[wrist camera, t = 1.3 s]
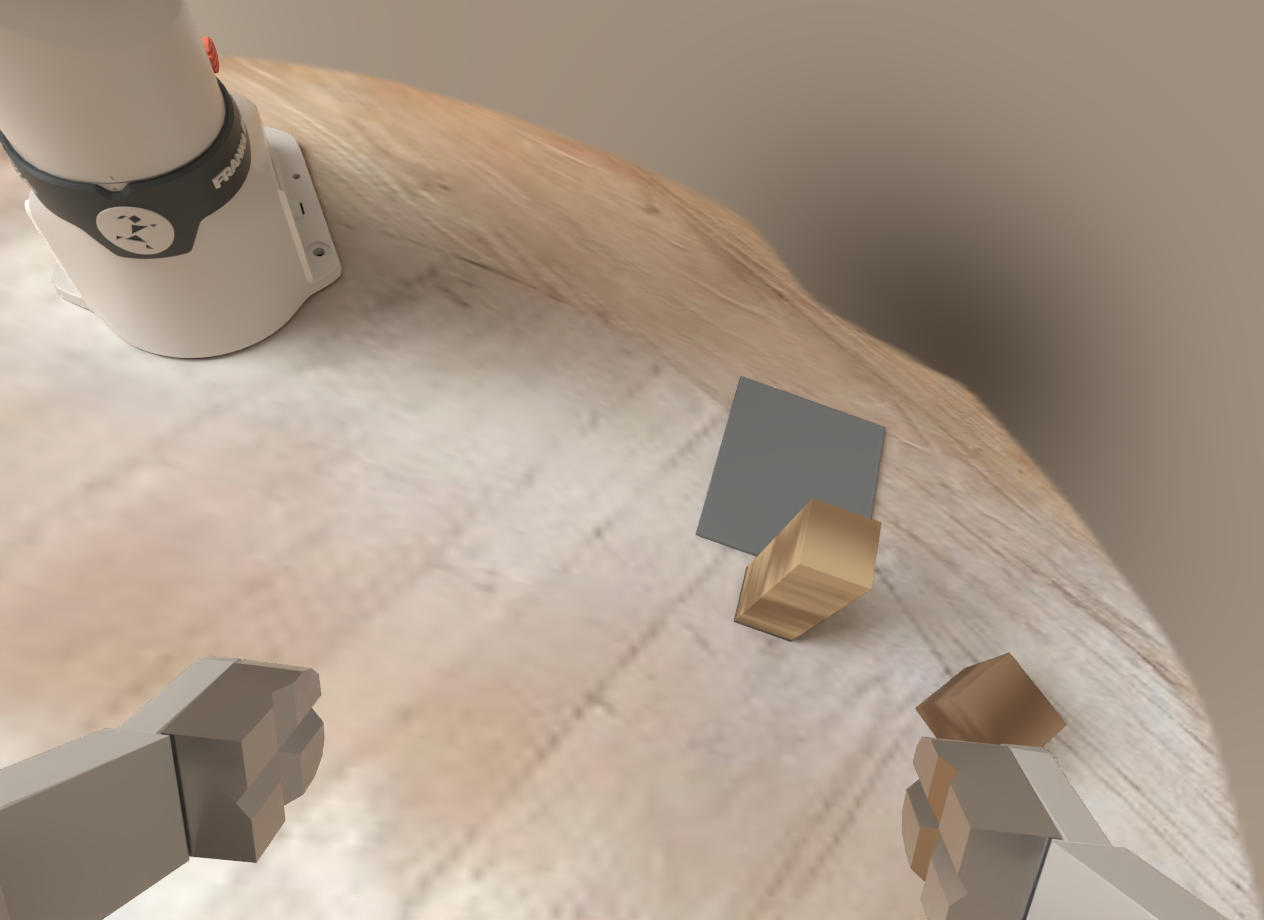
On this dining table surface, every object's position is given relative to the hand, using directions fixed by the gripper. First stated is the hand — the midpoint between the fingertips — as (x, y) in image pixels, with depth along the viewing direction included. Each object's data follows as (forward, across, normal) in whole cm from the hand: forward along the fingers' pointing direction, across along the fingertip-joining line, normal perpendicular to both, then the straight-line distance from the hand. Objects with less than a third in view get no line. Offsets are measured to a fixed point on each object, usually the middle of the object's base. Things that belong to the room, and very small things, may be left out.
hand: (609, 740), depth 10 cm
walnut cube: (+34, -21, +24) cm, 47 cm away
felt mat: (+44, -10, +11) cm, 46 cm away
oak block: (+37, -8, +18) cm, 41 cm away
